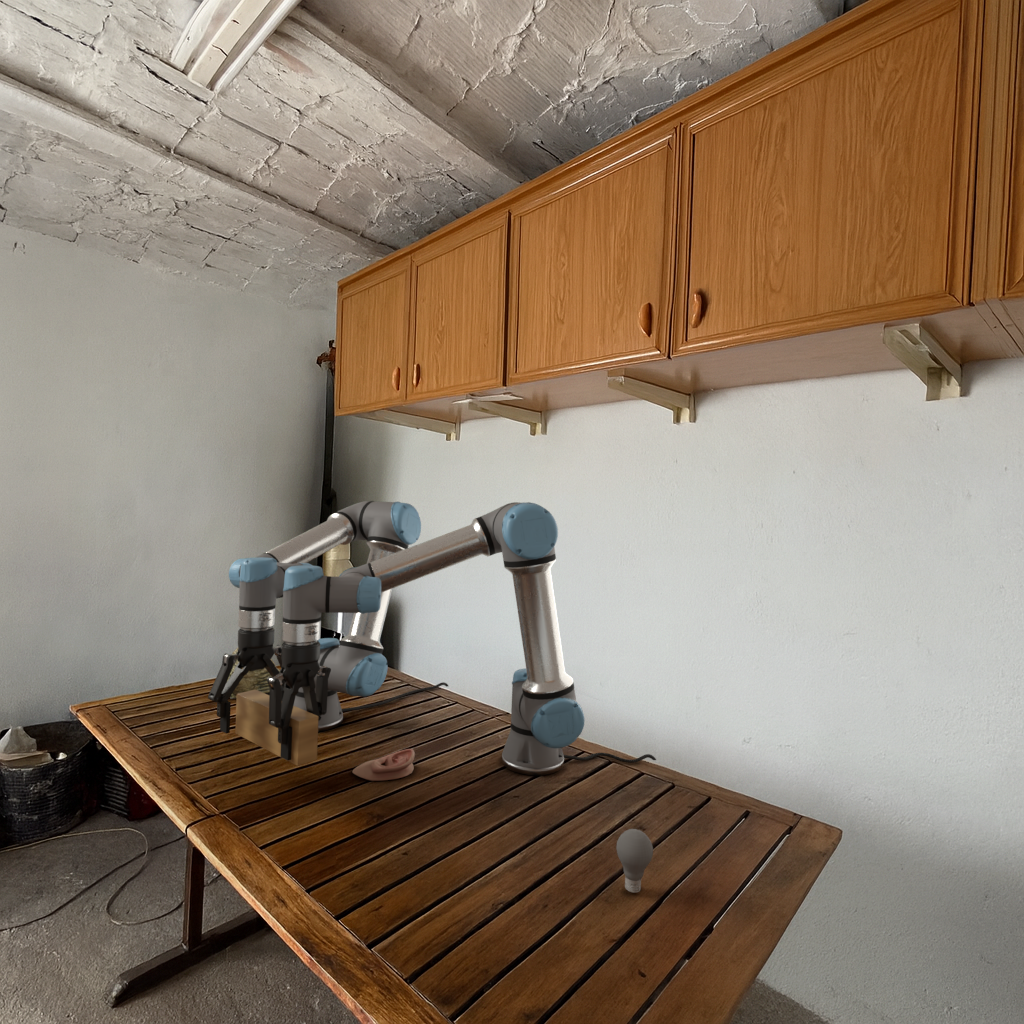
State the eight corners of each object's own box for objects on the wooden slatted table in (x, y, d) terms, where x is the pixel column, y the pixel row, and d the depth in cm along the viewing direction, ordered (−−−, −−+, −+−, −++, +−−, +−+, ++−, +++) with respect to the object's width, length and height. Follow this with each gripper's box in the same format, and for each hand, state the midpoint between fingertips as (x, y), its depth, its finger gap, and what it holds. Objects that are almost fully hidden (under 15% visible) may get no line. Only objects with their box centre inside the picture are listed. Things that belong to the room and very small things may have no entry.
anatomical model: (346, 759, 143) (368, 741, 154) (346, 777, 143) (367, 757, 154) (402, 767, 140) (420, 748, 152) (401, 785, 140) (419, 764, 152)
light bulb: (610, 879, 108) (613, 822, 108) (644, 879, 109) (647, 822, 109) (619, 902, 102) (622, 840, 102) (655, 901, 103) (658, 840, 103)
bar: (235, 733, 141) (236, 693, 141) (254, 728, 145) (255, 689, 145) (297, 766, 126) (299, 721, 126) (317, 759, 130) (318, 716, 129)
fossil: (218, 695, 195) (220, 647, 195) (278, 685, 208) (279, 640, 207) (228, 703, 189) (230, 653, 188) (289, 692, 201) (290, 645, 201)
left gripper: (209, 638, 129) (206, 743, 129) (314, 623, 148) (310, 715, 148) (192, 632, 133) (189, 733, 134) (295, 618, 152) (292, 707, 153)
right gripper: (271, 651, 120) (267, 773, 121) (348, 638, 134) (344, 747, 135) (251, 644, 125) (247, 761, 126) (326, 632, 139) (323, 738, 139)
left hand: (253, 724), depth 141 cm, fingers open, 12 cm apart
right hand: (297, 754), depth 130 cm, fingers closed on bar, 4 cm apart
